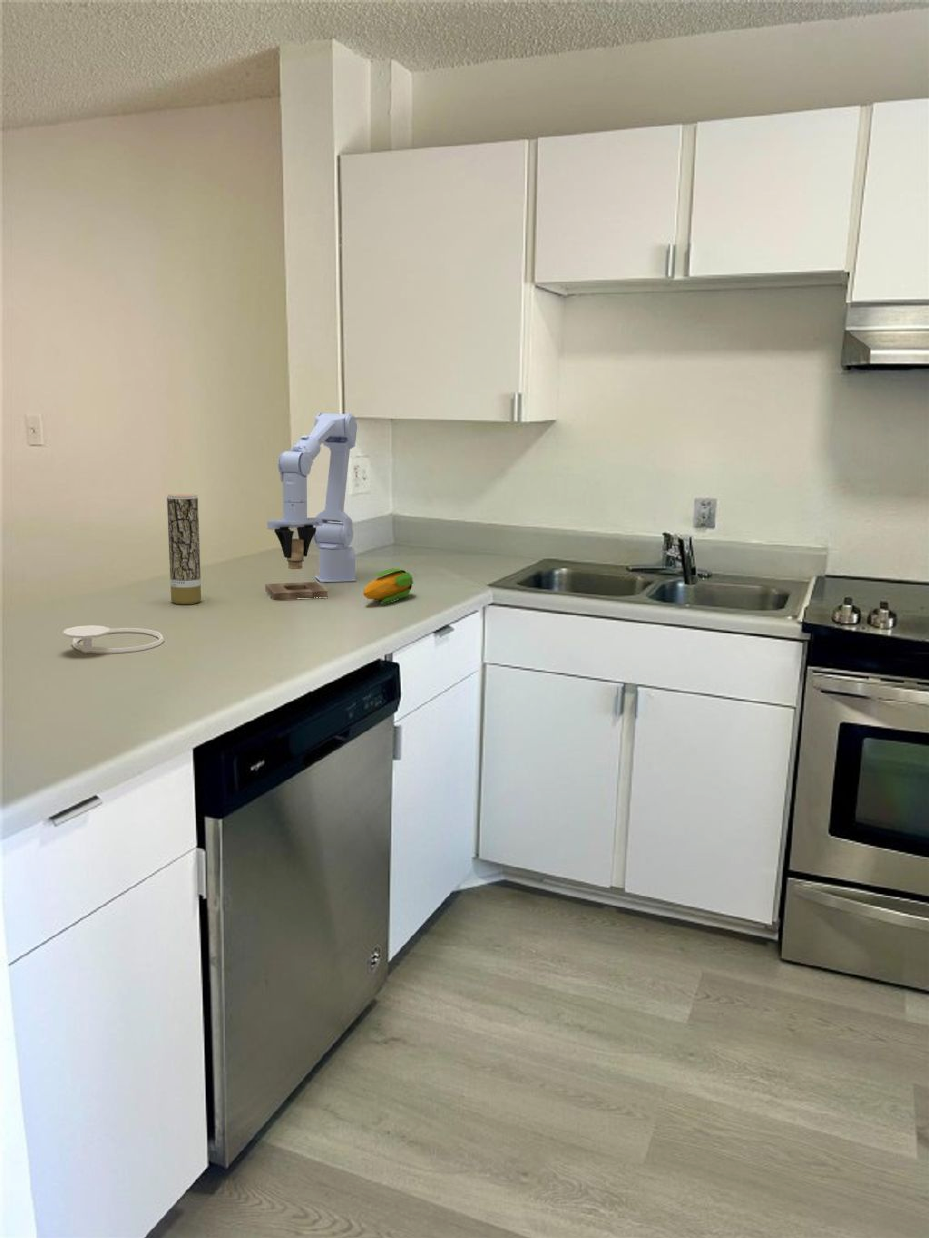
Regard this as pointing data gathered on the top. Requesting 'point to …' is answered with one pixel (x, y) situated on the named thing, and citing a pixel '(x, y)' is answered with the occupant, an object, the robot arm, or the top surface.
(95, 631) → the hand towel holder
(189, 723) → the top surface
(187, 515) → the paper tube
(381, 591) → the corn
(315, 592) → the board
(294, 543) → the peg
